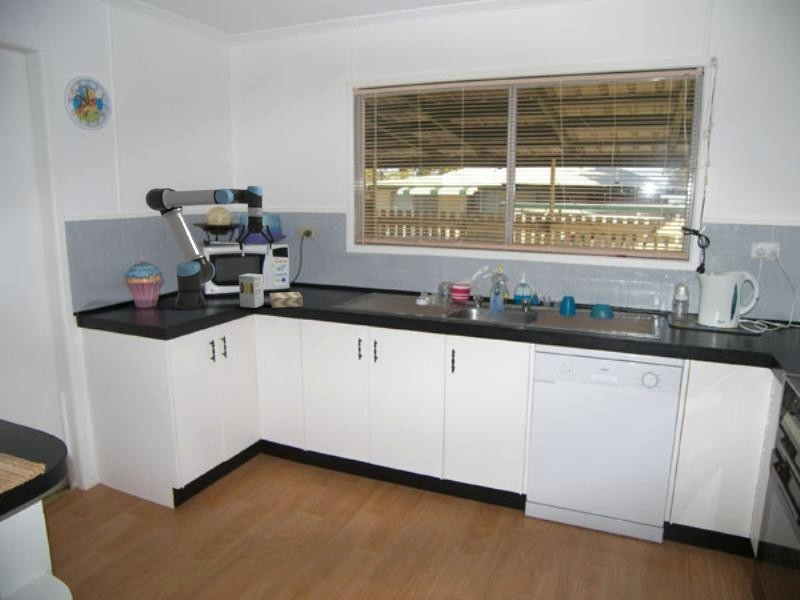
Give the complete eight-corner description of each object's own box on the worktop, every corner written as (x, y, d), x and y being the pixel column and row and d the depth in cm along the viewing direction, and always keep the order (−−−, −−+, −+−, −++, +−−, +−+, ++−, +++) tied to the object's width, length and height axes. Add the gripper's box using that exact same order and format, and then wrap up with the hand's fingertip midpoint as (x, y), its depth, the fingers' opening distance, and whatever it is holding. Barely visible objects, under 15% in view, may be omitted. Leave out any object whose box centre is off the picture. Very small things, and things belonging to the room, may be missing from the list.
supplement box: (239, 306, 299) (237, 275, 296) (248, 303, 308) (247, 273, 304) (255, 308, 296) (254, 276, 293) (264, 304, 305) (263, 273, 302)
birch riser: (272, 307, 297) (272, 298, 296) (269, 301, 312) (269, 293, 311) (302, 306, 302) (302, 297, 301) (299, 300, 317) (298, 291, 316)
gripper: (232, 215, 288) (233, 257, 292) (280, 216, 300) (280, 255, 304) (229, 215, 294) (230, 255, 299) (276, 215, 307) (276, 254, 311)
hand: (255, 255), depth 301 cm, fingers open, 13 cm apart
